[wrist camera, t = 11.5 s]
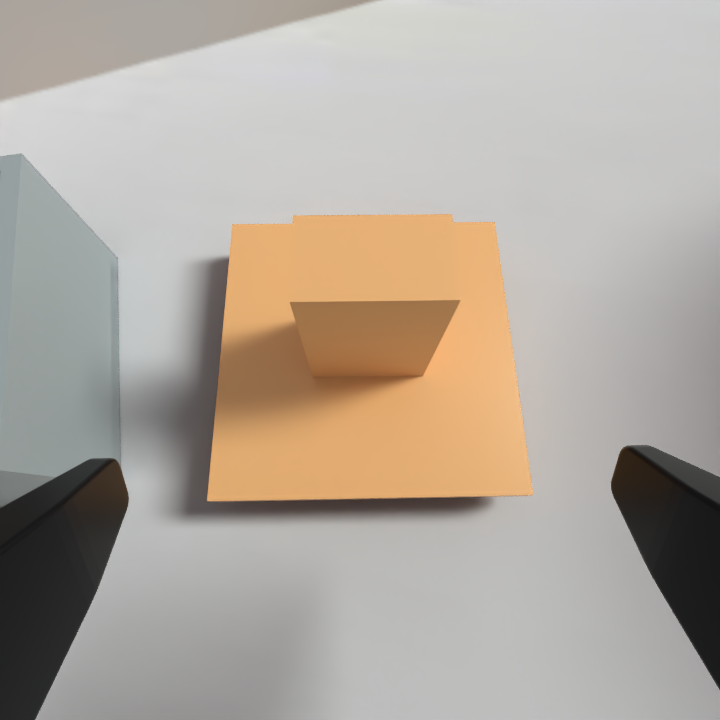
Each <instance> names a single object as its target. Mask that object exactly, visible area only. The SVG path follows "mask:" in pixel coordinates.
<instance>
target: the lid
mask: <svg viewBox="0 0 720 720" xmlns="http://www.w3.org/2000/svg"><path fill="white" fill-rule="evenodd" d="M528 495H533V489H532V482H531V475H530V468H529V461H528V454H527V447H526V440H525V433H524V426H523V419H522V412H521V405H520V398H519V391H518V384H517V377H516V370H515V362H514V355H513V348H512V341H511V334H510V327H509V320H508V313H507V306H506V299H505V292H504V285H503V278H502V271H501V264H500V257H499V250H498V243H497V236H496V229H495V222H460V223H453V219H452V214H439V215H310V216H293V224H232V235H231V246H230V256H229V267H228V278H227V289H226V300H225V311H224V322H223V333H222V343H221V354H220V365H219V376H218V387H217V398H216V409H215V420H214V430H213V441H212V452H211V463H210V474H209V485H208V496H207V501H212V502H234V501H288V500H341V499H394V498H448V497H501V496H528Z"/></svg>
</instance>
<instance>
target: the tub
mask: <svg viewBox="0 0 720 720" xmlns="http://www.w3.org/2000/svg"><path fill="white" fill-rule="evenodd" d="M92 458H114V459H116V460H117V461H118V462H119V465H120V395H119V325H118V257H117V256H116V255H115V254H114V253H113V252H112V251H111V250H110V249H109V248H108V247H107V246H106V244H105V243H104V242H103V241H102V240H101V239H100V238H99V237H98V236H97V235H96V234H95V233H94V231H93V230H92V229H91V228H90V227H89V226H88V225H87V224H86V223H85V222H84V221H83V219H82V218H81V217H80V216H79V215H78V214H77V213H76V212H75V211H74V210H73V209H72V208H71V206H70V205H69V204H68V203H67V202H66V201H65V200H64V199H63V198H62V197H61V196H60V195H59V193H58V192H57V191H56V190H55V189H54V188H53V187H52V186H51V185H50V184H49V183H48V182H47V180H46V179H45V178H44V177H43V176H42V175H41V174H40V173H39V172H38V171H37V170H36V169H35V167H34V166H33V165H32V164H31V163H30V162H29V161H28V160H27V159H26V158H25V157H24V155H23V154H15V155H7V156H0V508H1V507H3V506H5V505H7V504H8V503H10V502H12V501H14V500H16V499H17V498H19V497H21V496H23V495H25V494H27V493H28V492H30V491H32V490H34V489H36V488H37V487H39V486H41V485H43V484H45V483H46V482H48V481H50V480H52V479H54V478H56V477H57V476H59V475H61V474H63V473H65V472H66V471H68V470H70V469H72V468H74V467H76V466H77V465H79V464H81V463H83V462H85V461H86V460H89V459H92ZM120 467H121V465H120Z"/></svg>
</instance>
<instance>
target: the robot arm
mask: <svg viewBox="0 0 720 720" xmlns="http://www.w3.org/2000/svg"><path fill="white" fill-rule="evenodd" d="M611 490H612V494H613V496H614V499H615V501H616V503H617V505H618V507H619V509H620V511H621V513H622V515H623V517H624V520H625V522H626V524H627V526H628V528H629V530H630V532H631V534H632V536H633V538H634V541H635V543H636V545H637V547H638V549H639V551H640V553H641V555H642V557H643V560H644V562H645V564H646V565H647V567H648V569H649V571H650V573H651V575H652V577H653V579H654V580H655V582H656V584H657V586H658V588H659V589H660V591H661V593H662V594H663V596H664V598H665V599H666V601H667V603H668V604H669V606H670V608H671V609H672V611H673V613H674V614H675V616H676V618H677V619H678V621H679V623H680V624H681V626H682V628H683V629H684V631H685V633H686V634H687V636H688V638H689V639H690V641H691V643H692V644H693V646H694V648H695V649H696V651H697V653H698V655H699V656H700V658H701V660H702V661H703V663H704V665H705V666H706V668H707V670H708V671H709V673H710V675H711V676H712V678H713V680H714V681H715V683H716V685H717V686H718V688H719V690H720V477H718V476H716V475H713V474H711V473H709V472H707V471H705V470H702V469H700V468H698V467H696V466H694V465H691V464H689V463H687V462H685V461H683V460H680V459H678V458H676V457H674V456H672V455H669V454H667V453H665V452H663V451H660V450H658V449H656V448H654V447H651V446H648V445H631V446H626V447H624V448H623V449H622V450H621V451H620V454H619V457H618V461H617V464H616V467H615V471H614V474H613V477H612V481H611ZM128 501H129V497H128V491H127V488H126V484H125V481H124V478H123V474H122V471H121V467H120V465H119V462H118V461H117V460H116V459H114V458H92V459H89V460H86V461H85V462H83V463H81V464H79V465H77V466H76V467H74V468H72V469H70V470H68V471H66V472H65V473H63V474H61V475H59V476H57V477H56V478H54V479H52V480H50V481H48V482H46V483H45V484H43V485H41V486H39V487H37V488H36V489H34V490H32V491H30V492H28V493H27V494H25V495H23V496H21V497H19V498H17V499H16V500H14V501H12V502H10V503H8V504H7V505H5V506H3V507H1V508H0V720H35V719H36V717H37V715H38V713H39V710H40V708H41V706H42V704H43V702H44V700H45V698H46V696H47V694H48V692H49V690H50V688H51V686H52V684H53V681H54V679H55V677H56V675H57V673H58V671H59V669H60V667H61V665H62V663H63V661H64V659H65V657H66V655H67V652H68V650H69V648H70V646H71V644H72V642H73V640H74V638H75V636H76V634H77V632H78V630H79V628H80V626H81V623H82V621H83V619H84V617H85V615H86V613H87V611H88V609H89V607H90V605H91V602H92V600H93V598H94V596H95V594H96V591H97V589H98V586H99V584H100V581H101V579H102V576H103V574H104V571H105V568H106V565H107V563H108V560H109V557H110V554H111V552H112V549H113V546H114V543H115V541H116V538H117V535H118V532H119V530H120V527H121V524H122V521H123V519H124V516H125V513H126V510H127V507H128Z"/></svg>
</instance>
